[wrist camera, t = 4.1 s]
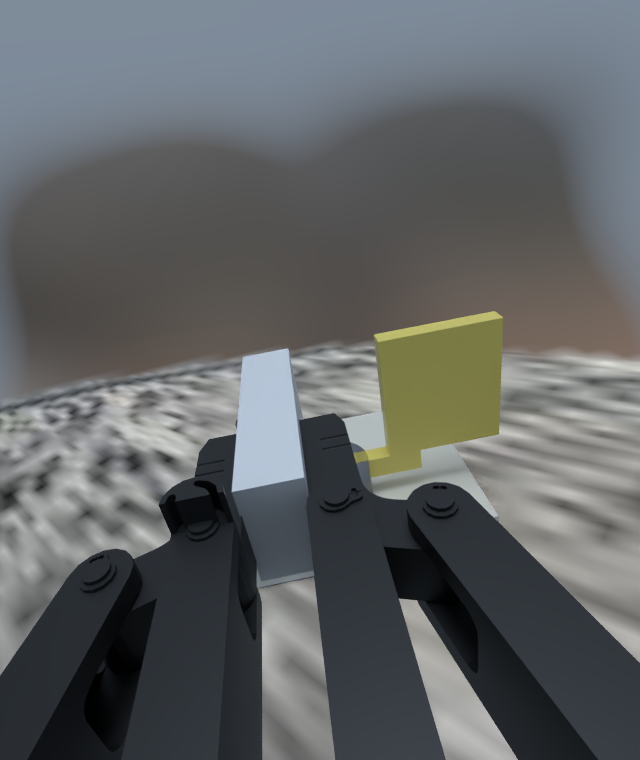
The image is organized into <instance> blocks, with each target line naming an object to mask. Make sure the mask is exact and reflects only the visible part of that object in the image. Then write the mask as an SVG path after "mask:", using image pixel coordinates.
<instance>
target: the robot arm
mask: <svg viewBox="0 0 640 760" xmlns="http://www.w3.org/2000/svg"><path fill="white" fill-rule="evenodd" d="M159 507H160V509H161V512H162V514H163V516H164V519H165V521H166V523H167V525H168V528H169V530H170V532H171V538H170V541H168V542H167V543H166V544H164V545H162V546H161V547H159V548H157V549H155V550H153V551H151V552H148V553H146V554H144V555H142V556H140V557H137V558H135V559H133V558H132V556H131V555H130V554H129V553H128V552H127V551H125V550H120V549H112V550H106V551H102V552H100V553H98V554H95V555H93V556H91V557H89V558H88V559H87V560H85V561H84V562H82V563H81V564H80V565H78V566H77V568H76V569H75V570H74V571H73V572H72V573H71V574H70V575H69V577H68V578H67V579H66V581H65V582H64V584H63V585H62V587H61V588H60V590H59V591H58V593H57V594H56V595H55V597H54V598H53V600H52V601H51V603H50V604H49V606H48V607H47V609H46V610H45V612H44V613H43V614H42V616H41V617H40V619H39V620H38V622H37V623H36V625H35V626H34V628H33V629H32V630H31V632H30V633H29V635H28V636H27V638H26V639H25V641H24V642H23V644H22V645H21V646H20V648H19V649H18V651H17V652H16V654H15V655H14V657H13V658H12V660H11V661H10V662H9V664H8V665H7V667H6V668H5V670H4V671H3V673H2V674H1V676H0V760H262V602H261V598H260V594H259V591H258V588H257V570H258V573H259V576H260V579H261V581H266V580H271V579H276V578H280V577H285V576H290V575H295V574H300V573H305V572H310V571H314V579H315V587H316V596H317V605H318V613H319V622H320V630H321V639H322V648H323V656H324V665H325V673H326V682H327V691H328V699H329V708H330V717H331V725H332V734H333V742H334V751H335V760H446V759H445V756H444V752H443V749H442V746H441V742H440V739H439V735H438V732H437V728H436V725H435V722H434V718H433V715H432V711H431V708H430V705H429V701H428V698H427V694H426V691H425V687H424V684H423V681H422V677H421V674H420V670H419V667H418V664H417V660H416V657H415V653H414V650H413V646H412V643H411V640H410V636H409V633H408V629H407V626H406V622H405V619H404V616H403V612H402V609H401V605H400V602H399V599H398V598H401V599H410V600H417V601H418V603H419V605H420V607H421V608H422V610H423V612H424V613H425V615H426V616H427V618H428V619H429V621H430V622H431V624H432V626H433V627H434V629H435V630H436V632H437V633H438V635H439V637H440V638H441V640H442V641H443V643H444V644H445V646H446V647H447V649H448V651H449V652H450V654H451V655H452V657H453V658H454V660H455V662H456V663H457V665H458V666H459V668H460V669H461V671H462V673H463V674H464V676H465V677H466V679H467V680H468V682H469V683H470V685H471V687H472V688H473V690H474V691H475V693H476V694H477V696H478V698H479V699H480V701H481V702H482V704H483V705H484V707H485V708H486V710H487V712H488V713H489V715H490V716H491V718H492V719H493V721H494V723H495V724H496V726H497V727H498V729H499V730H500V732H501V734H502V735H503V737H504V738H505V740H506V741H507V743H508V744H509V746H510V748H511V749H512V751H513V752H514V754H515V755H516V757H517V759H518V760H640V663H639V662H638V661H637V660H636V659H635V658H634V657H633V656H632V655H631V654H630V653H629V652H628V651H627V650H626V649H625V648H624V647H623V646H622V645H621V644H620V643H619V642H618V641H617V640H616V639H615V638H614V637H613V636H612V635H611V634H610V633H609V632H608V631H607V630H606V629H605V628H604V627H603V626H602V625H601V624H600V623H599V622H598V621H597V620H596V619H595V618H594V617H593V616H592V615H591V614H590V613H589V612H588V611H587V610H586V609H585V608H584V607H583V606H582V605H581V604H580V603H579V602H578V601H577V600H576V599H575V598H574V597H573V596H572V595H571V594H570V593H569V592H568V591H567V590H566V589H565V588H564V587H563V586H562V585H561V584H560V583H559V582H558V581H557V580H556V579H555V578H554V577H553V576H552V575H551V574H550V573H549V572H548V571H547V570H546V569H545V568H544V567H543V566H542V565H541V564H540V563H539V562H538V561H537V560H536V559H535V558H534V557H533V556H532V555H531V554H530V553H529V552H528V551H527V550H526V549H525V548H524V547H523V546H522V545H521V544H520V543H519V542H518V541H517V540H516V539H515V538H514V537H513V536H512V535H511V534H510V533H509V532H508V531H507V530H506V529H505V528H504V527H503V526H502V525H501V524H500V523H499V522H498V521H497V520H496V519H495V518H494V517H493V516H492V515H491V514H490V513H489V512H488V511H487V510H486V509H485V508H484V507H483V506H482V505H481V504H480V503H479V502H478V501H477V500H476V499H475V498H474V497H473V496H472V495H471V494H470V493H468V492H467V491H465V490H464V489H463V488H461V487H460V486H457V485H454V484H450V483H446V482H433V483H428V484H424V485H422V486H420V487H418V488H417V489H415V490H413V491H412V493H411V494H410V496H409V497H408V498H407V500H398V499H388V498H383V497H380V496H377V495H375V494H373V493H372V492H370V491H369V490H368V489H367V488H366V487H365V486H364V485H363V483H362V481H361V477H360V474H359V471H358V467H357V464H356V460H355V457H354V453H353V450H352V446H351V443H350V439H349V436H348V433H347V429H346V426H345V422H344V421H343V420H342V419H340V418H339V417H338V416H337V415H336V414H334V413H333V414H328V415H323V416H318V417H313V418H308V419H303V416H302V411H301V406H300V402H299V397H298V392H297V388H296V383H295V378H294V374H293V369H292V364H291V360H290V355H289V350H288V349H282V350H277V351H272V352H267V353H262V354H257V355H252V356H247V357H243V363H242V375H241V387H240V399H239V410H238V422H237V434H234V435H229V436H224V437H219V438H214V439H209V440H208V442H207V443H206V444H205V445H204V447H203V448H202V449H201V451H200V452H199V457H198V462H197V467H196V472H195V477H194V478H191V479H188V480H185V481H182V482H181V483H179V484H177V485H175V486H174V487H172V488H171V489H170V490H169V491H168V492H167V493H166V494H165V495H164V496H163V497H162V499H161V501H160V503H159Z"/></svg>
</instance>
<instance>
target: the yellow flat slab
mask: <svg viewBox="0 0 640 760" xmlns="http://www.w3.org/2000/svg"><path fill="white" fill-rule="evenodd" d="M502 333H503V317H502V316H500V315H498V314H497V313H496V312H495V311H493V312H488V313H483V314H478V315H472V316H467V317H462V318H457V319H452V320H447V321H442V322H436V323H431V324H426V325H421V326H416V327H411V328H406V329H400V330H395V331H390V332H386V333H380V334H375V335H374V341H375V350H376V360H377V369H378V378H379V387H380V396H381V406H382V415H383V424H384V433H385V443H386V446H385V447H380V448H375V449H370V450H364V449H363V448H362V447H360V446H359V445H357V444H354V443H351V442H350V443H351V446H352V450H353V453H354V457H355V460H356V464H357V467H358V471H359V474H360V477H361V481H362V483H363V485H364V486H365V487H366V488H367V489H368V490H369V491H370V492H372V493H373V490H372V482H371V478H373V477H378V476H382V475H387V474H392V473H397V472H402V471H407V470H412V469H417V468H422V460H421V450H423V449H428V448H433V447H438V446H443V445H448V444H453V443H458V442H463V441H468V440H473V439H478V438H482V437H487V436H492V435H497V434H499V418H500V390H501V362H502Z"/></svg>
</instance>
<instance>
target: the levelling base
mask: <svg viewBox="0 0 640 760" xmlns="http://www.w3.org/2000/svg"><path fill="white" fill-rule="evenodd" d="M342 420H343V421H344V422H345V426H346V429H347V433H348V436H349V439H350V442H351V443H354V444H357V445H359V446H360V447H362V448H363V449H364V450H370V449H375V448H380V447H385V446H386V443H385V433H384V424H383V415H382V411H380V412H375V413H370V414H365V415H360V416H355V417H350V418H345V419H342ZM237 422H238V419H237V421H236V428H237ZM421 460H422V468H417V469H412V470H407V471H402V472H397V473H392V474H387V475H382V476H378V477H373V478H371V482H372V490H373V494H375V495H377V496H380V497H383V498H388V499H398V500H407V498H408V497H409V496H410V494H411V493H412V491H413V490H415V489H417V488H418V487H420V486H422V485H424V484H428V483H433V482H446V483H450V484H454V485H457V486H460V487H461V488H463V489H464V490H465V491H467V492H468V493H470V494H471V495H472V496H473V497H474V498H475V499H476V500H477V501H478V502H479V503H480V504H481V505H482V506H483V507H484V508H485V509H486V510H487V511H488V512H489V513H490V514H491V515H492V516H493V517H494V518H495V519H496V520H497V521H498V518H499V516H498V515H497V513H496V511H495V510H494V508H493V507H492V505H491V504H490V502H489V500H488V499H487V497H486V496H485V494H484V492H483V491H482V489H481V488H480V486H479V485H478V483H477V481H476V480H475V478H474V477H473V475H472V474H471V472H470V470H469V469H468V467H467V466H466V464H465V462H464V461H463V459H462V458H461V456H460V455H459V453H458V451H457V450H456V448H455V447H454V445H453V444H448V445H443V446H438V447H433V448H428V449H423V450H421ZM312 576H314V571H310V572H305V573H300V574H295V575H290V576H285V577H280V578H276V579H271V580H266V581H261V579H260V576H259V573H258V570H257V588H260V587H265V586H270V585H275V584H279V583H284V582H289V581H294V580H298V579H303V578H308V577H312Z"/></svg>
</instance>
